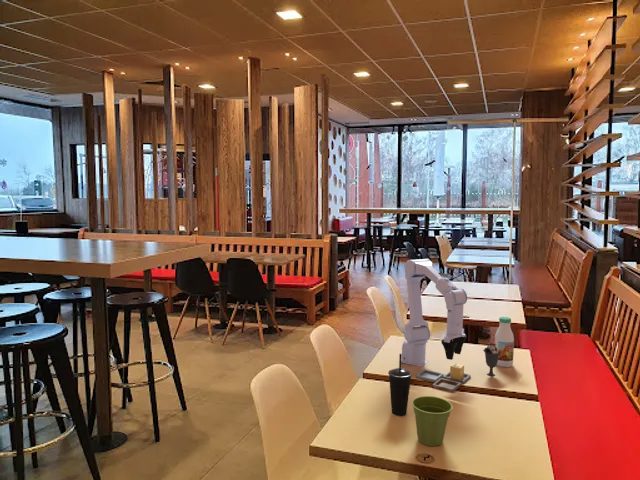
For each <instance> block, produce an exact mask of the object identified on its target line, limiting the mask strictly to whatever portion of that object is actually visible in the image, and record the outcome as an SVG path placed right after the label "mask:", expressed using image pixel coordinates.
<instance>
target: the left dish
mask: <svg viewBox="0 0 640 480" xmlns="http://www.w3.org/2000/svg"><path fill="white" fill-rule="evenodd" d="M444 375H445V373H443V372H438V371H433V370H429V369H427V368H425V369H424V368H423V369H422V370H421V371H420V372H418V373H417V374H415V378H416V379H420V380H423V381H428V382H432V383H435V382H436V381H438V380H439V379H440V378H443V376H444Z"/></svg>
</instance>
